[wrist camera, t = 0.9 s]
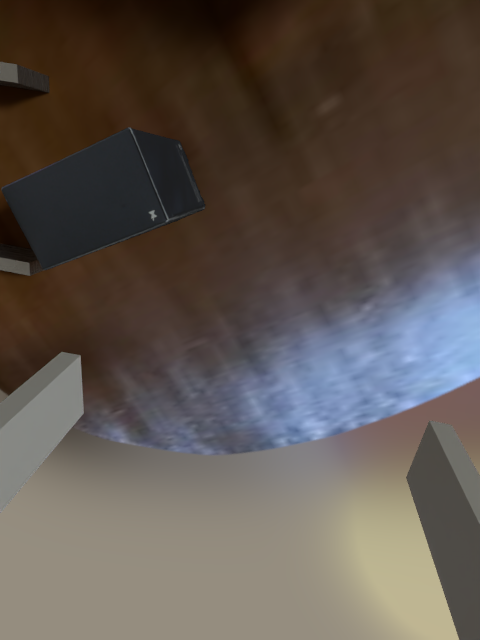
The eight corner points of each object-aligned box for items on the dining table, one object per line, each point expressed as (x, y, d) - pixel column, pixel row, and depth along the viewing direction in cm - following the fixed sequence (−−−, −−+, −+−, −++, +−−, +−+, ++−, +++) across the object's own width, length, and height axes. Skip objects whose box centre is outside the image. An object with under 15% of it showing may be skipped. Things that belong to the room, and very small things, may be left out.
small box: (179, 133, 33) (130, 119, 23) (208, 208, 35) (174, 224, 25) (76, 180, 35) (-7, 185, 26) (108, 247, 37) (43, 275, 28)
